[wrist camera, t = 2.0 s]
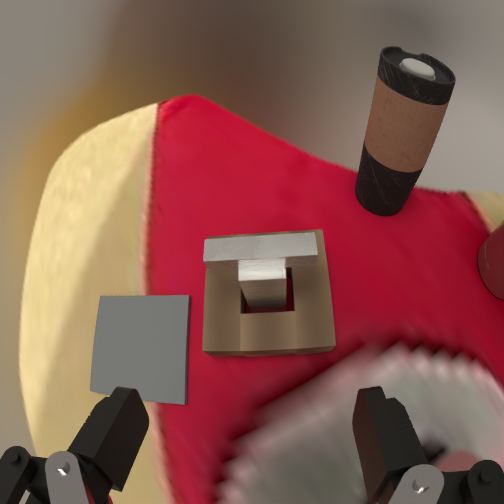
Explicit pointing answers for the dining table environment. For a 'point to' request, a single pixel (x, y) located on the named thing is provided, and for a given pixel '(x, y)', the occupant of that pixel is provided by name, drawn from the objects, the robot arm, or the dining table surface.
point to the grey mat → (142, 346)
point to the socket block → (270, 324)
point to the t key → (262, 264)
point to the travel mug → (401, 127)
